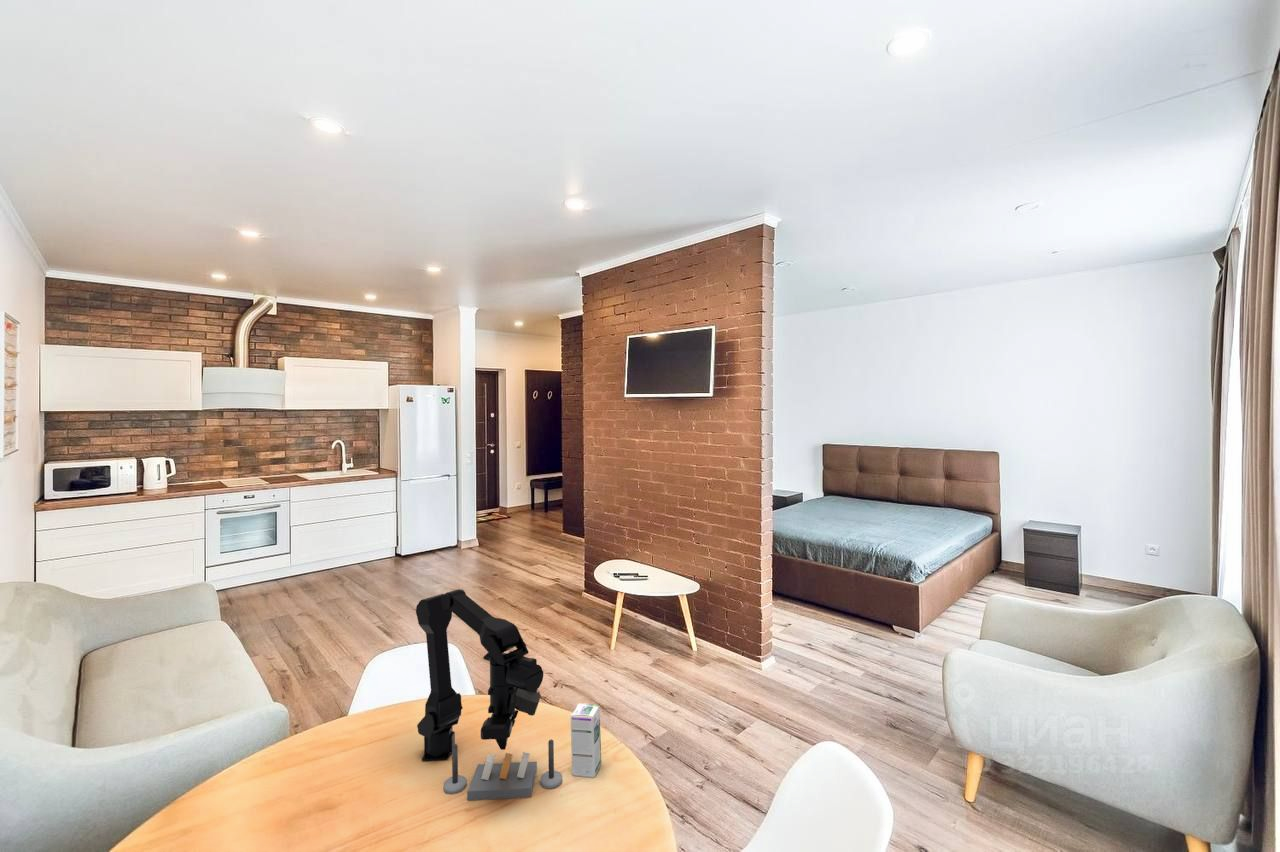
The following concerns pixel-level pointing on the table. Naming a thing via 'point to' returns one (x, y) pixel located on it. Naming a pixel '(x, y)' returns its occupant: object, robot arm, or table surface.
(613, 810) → the table surface
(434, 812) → the table surface
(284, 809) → the table surface
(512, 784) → the panel
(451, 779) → the stand
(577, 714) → the syrup box
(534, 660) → the robot arm
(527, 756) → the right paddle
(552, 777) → the stand
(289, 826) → the table surface
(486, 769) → the left paddle
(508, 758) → the orange rectangular block
